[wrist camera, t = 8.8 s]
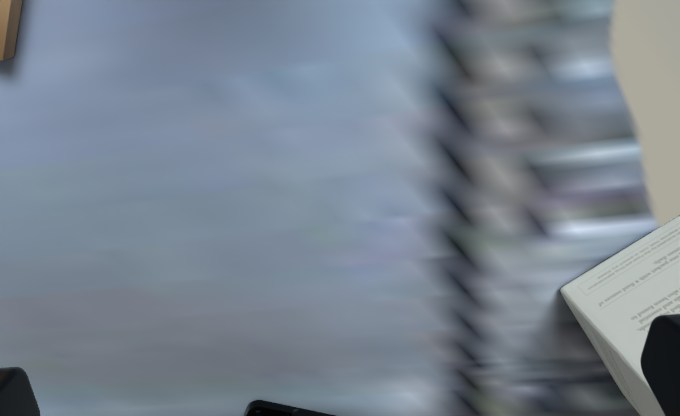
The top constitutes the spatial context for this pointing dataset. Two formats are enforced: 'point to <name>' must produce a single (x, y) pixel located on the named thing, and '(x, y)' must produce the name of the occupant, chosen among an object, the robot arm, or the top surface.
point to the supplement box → (629, 307)
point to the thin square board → (9, 27)
